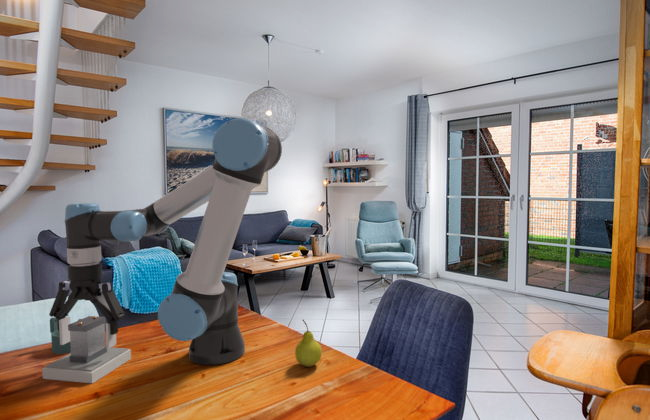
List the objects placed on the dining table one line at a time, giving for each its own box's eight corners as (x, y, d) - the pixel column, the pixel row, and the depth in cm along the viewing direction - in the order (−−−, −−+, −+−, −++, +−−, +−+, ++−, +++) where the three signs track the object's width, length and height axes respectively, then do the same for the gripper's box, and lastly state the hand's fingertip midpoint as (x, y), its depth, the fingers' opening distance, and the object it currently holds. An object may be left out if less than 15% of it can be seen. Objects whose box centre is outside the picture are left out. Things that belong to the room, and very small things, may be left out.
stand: (131, 358, 109) (130, 347, 109) (92, 383, 95) (91, 371, 95) (86, 355, 112) (86, 344, 112) (42, 378, 98) (42, 366, 98)
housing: (90, 350, 107) (89, 314, 107) (107, 351, 106) (105, 315, 106) (69, 361, 100) (67, 323, 100) (87, 363, 100) (85, 324, 99)
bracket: (87, 349, 116) (86, 319, 115) (48, 356, 111) (47, 325, 111) (87, 340, 123) (86, 311, 123) (51, 346, 119) (50, 316, 118)
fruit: (327, 365, 104) (326, 320, 104) (309, 374, 99) (308, 327, 99) (308, 357, 109) (308, 314, 108) (290, 366, 104) (289, 320, 103)
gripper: (30, 264, 101) (34, 347, 102) (117, 267, 96) (121, 353, 97) (55, 259, 108) (59, 336, 109) (137, 262, 103) (140, 342, 105)
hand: (88, 344), depth 103 cm, fingers open, 13 cm apart
